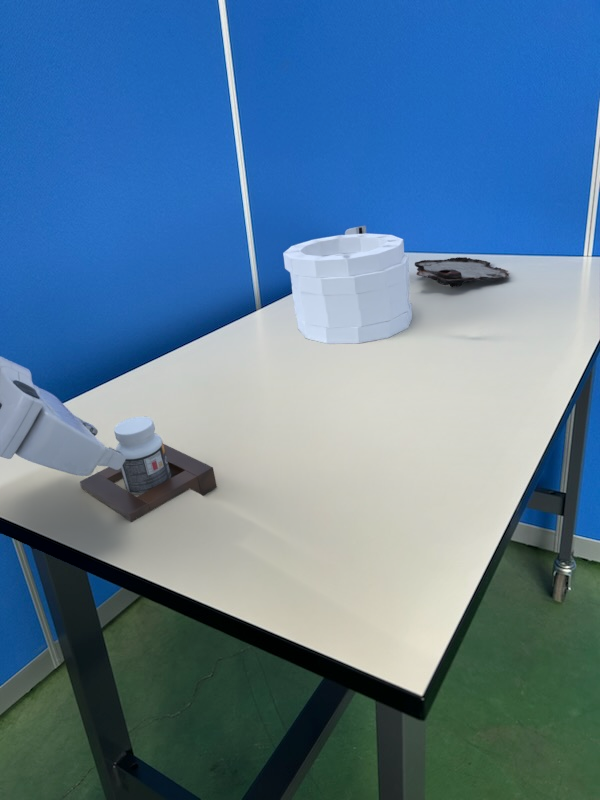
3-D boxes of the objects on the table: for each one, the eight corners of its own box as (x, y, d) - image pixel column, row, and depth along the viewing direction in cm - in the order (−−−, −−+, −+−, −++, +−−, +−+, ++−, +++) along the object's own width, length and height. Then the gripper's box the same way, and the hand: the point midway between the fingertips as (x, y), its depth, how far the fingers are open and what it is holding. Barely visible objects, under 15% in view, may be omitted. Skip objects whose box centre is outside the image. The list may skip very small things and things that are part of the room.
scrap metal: (428, 264, 169) (397, 288, 144) (430, 249, 167) (399, 271, 142) (514, 276, 161) (498, 304, 136) (517, 261, 159) (502, 286, 134)
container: (271, 332, 132) (260, 256, 125) (342, 301, 146) (336, 231, 139) (363, 351, 115) (357, 265, 108) (434, 314, 130) (432, 236, 123)
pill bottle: (183, 488, 79) (167, 419, 75) (148, 512, 75) (129, 440, 71) (154, 477, 82) (137, 410, 78) (119, 499, 78) (100, 430, 74)
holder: (135, 535, 71) (129, 514, 70) (85, 501, 79) (79, 481, 78) (217, 487, 78) (213, 467, 77) (164, 460, 86) (159, 441, 85)
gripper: (-39, 398, 72) (67, 441, 81) (-3, 461, 57) (123, 506, 66) (-11, 351, 73) (92, 399, 82) (33, 401, 57) (154, 454, 66)
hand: (106, 447), depth 73 cm, fingers open, 8 cm apart
